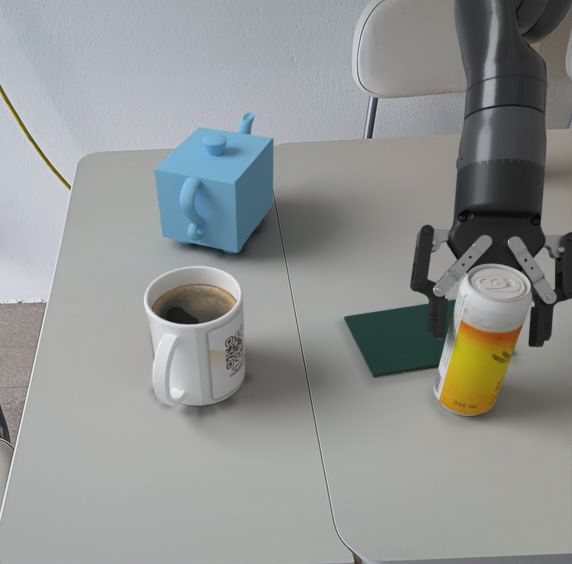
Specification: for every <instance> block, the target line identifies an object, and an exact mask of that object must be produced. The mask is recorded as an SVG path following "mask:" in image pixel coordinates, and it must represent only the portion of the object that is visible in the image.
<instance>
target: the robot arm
mask: <svg viewBox="0 0 572 564" xmlns="http://www.w3.org/2000/svg"><path fill="white" fill-rule="evenodd" d="M571 9H572V0H453V18H454V27H455V30H456V31H455V32H456V37H457V41H458V45H459V51H460V56H461V62H462V66H463V70H464V74H465V78H466V89H465V98H464V100H465V101H464V112H463V113H464V114H463V126H462V131H461V136H460V140H459V144H458V154H457V159H456V166H455V168H456V180H455V181H456V182H455V193H454V194H455V195H454V208H453V220H452V225H451V227H450V229H440V228H439V229H438V228H434V226H432V225H431V224H425V225H423V226H421V228H420V229H419V230H418V233H417V234H416V239H415V247H414V254H413V262H412V269H411V275H410V283H409V284H410V285H409V287H410V290H411V291H412V292H414V293H416V292H417V293H420V294H422V295H424V296H426V298H427V299H428V303H429V308H428V321H427V329H428V332H429V333H434V334H433V338H434V339H438V340H442V339H444V338H445V330H446V317H447V304H448V300H449V298H448V297H447V298H446V294H447V293H448V292H449V291H450V290H451V289H452V288H453V287H454V286H455V284H457V282H458V281H460V279H461V278H462V277H463V276H464V275H465V274H466V275H467V274H468V273H469V271H470V270H471V269H473V268H474V267H476V266H479V265H483V264H500V265H505V266H509V267H511V268H514V269H516V270H518V271H520V272H521V273H523V274H524V275H525V276H526V277H527V278H528V280H529V281H530V284H531V293H532V302H533V303H534V306H530V314H529V327H528V340H527V341H528V347H529V348H543V347H544V345H545V342H548V341H550V339H551V337H552V336H553V335H552V334H553V319H554V308H555V306H556V304H558V303H561V302H566V301H568V300H572V231H569V232H567V233H565V234H545V232H544V231H543V229H542V216H543V215H542V214H543V204H544V203H543V200H544V188H545V175H546V161H547V145H548V144H547V143H548V137H547V125H546V121H547V120H546V119H547V118H546V114H547V103H548V102H547V101H548V89H549V78H550V77H549V74H550V73H549V66H548V62H547V60H546V58H545V57H544V56H543V55H542V54H541V53H540V52H539V51H537V50H536V49H535V48H534V47H532V45H533V44H537V43H540V42H542V41H544V40H545V39H547V38H548V37H549V36H551V35H552V34H553V33H554V32H555V31H557V29H558V28H559V27H560V26H561V24H563V23H564V21H565V18H567V15H568V14H569V12H570V10H571ZM528 44H530V45H528ZM442 243H446V245H447V247H448V249H449V250H450V252H451V253H452V255H453V256H454V258H455V259H456V261H454V263H452V265H451V266H450V267H449V268H448V269H447V271H446V272H445V273H443V275H442V276H441V277H440V278H439V279H438V280H437V282H435V281H433V280H431V279H429V278H428V277H429V271H430V265H431V257H432V256H431V255H432V254H433V253H435V252H437V251H438V250H439V249H440V247H441V244H442ZM543 248H544V249H546V250H547V252H548V256H549V257H550V259H553V260H554V289H553V288H552V286H551V285H550V283H549V282H548V280H547V279H546V275H545V273H544V272H543V270H542V268H541V267H540V265H538V263H537V261H536V260H535V259H534V258H535V257H536V256H537V255H538V254H539V253H540V252H541V251H542V249H543Z"/></svg>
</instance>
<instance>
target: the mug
mask: <svg viewBox="0 0 572 564" xmlns="http://www.w3.org/2000/svg"><path fill="white" fill-rule="evenodd" d="M143 306H144V312H145V313H144V314H145V318H146V325H147V331H148V336H149V342H150V348H151V354H152V360H153V361H152V362H153V365H152V386H153V391H154V394H155V396H156V399H157V400H158V402H160V403H162V404H165V405H167V406H171V407H177V406H179V405H181V404H182V405H186V406H194V407H197V406H198V407H200V406H209V405H213V404H217V403H220V402H222V401H224V400H226V399H228V398H230V397H232V395H234V394H235V393H236V392H237V391H238V390H239V388H241V386H242V384H243V382H244V380H245V377H246V355H245V354H246V353H245V349H246V348H245V323H244V321H245V320H244V319H245V318H244V317H245V316H244V293H243V288H242V285H241V284H240V281H238V279H237V278H236V277H234V276H233V275H232V274H231V273H228V272H227V271H225V270H222V269H220V268H216V267H214V266H213V267H212V266H206V265H190V266H188V265H187V266H182V267H178V268H175V269H172V270H169V271H167V272H164V273H162V274H161V275H158V277H157V278H155V279H153V281H152V282H151V283H150V284H149V285H148V286H147V288H146V290H145V292H144V296H143Z"/></svg>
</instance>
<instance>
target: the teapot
mask: <svg viewBox="0 0 572 564" xmlns="http://www.w3.org/2000/svg"><path fill="white" fill-rule="evenodd" d="M255 117H256V113H255V112H253V111H250V112H247V113H245V114H244V115H243V116H242V118H241V119H240V122H239V126H238V128H237V131H236V132H235V131H229V130H222V129H214V128H208V127H201V126H199V127H197V128H196V129H195V130H194V131H193V132H192V133H191V134H190V135H188V136H187V137H186V138H185V139H184V140H183V141H182V142H181V143H180V144H179V145H177V147H176V148H175V149H174V150H172V152H170V153H169V154H168V155H167V156H166V157H165V158H164V159H163V160H162V161H161V162H160V163H159V164H158V165H157V166H156V167H155V168H154V169H153V170H154V178H155V187H156V194H157V202H158V210H159V219H160V225H161V233H162V237H163V238H168V239H171V240H172V239H173V240H176V241H179V242H180V243H181V244H184V245H189V244H196V245H200V246H205V247H209V248H212V249H213V248H214V249H218V250H222V251H223V252H224V253H227V254H237V253H239V252H241V251H242V250H243V247H244V244H245V243H246V242H247V240H248V239H249V238H250V236H251V235H252V233H254V231H255V230H256V228H258V227H259V226H260V225H261V221H262V220H263V219H264V217H265V216H266V215H267V213H268V212H269V210H270V209H271V208H272V206H273V205H274V144H275V143H274V142H275V141H274V140H275V139H274V138H273V137H269V136H261V135H255V134H252V128H253V123H254V120H255Z"/></svg>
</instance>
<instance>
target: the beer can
mask: <svg viewBox="0 0 572 564" xmlns="http://www.w3.org/2000/svg"><path fill="white" fill-rule="evenodd" d="M455 299H456V302H455V306H454V310H453V314H452V318H451V321H450V325H449V329H448V333H447V337H446V341H445V345H444V349H443V352H442V356H441V360H440V364H439V366H438V368H437V371H436V377H435V380H434V384H433V393H434V396H435V398H436V399H437V401H438V402H439V403H440V404H441V405H442V406H443V408H444V409H445V410H447V411H449V412H450V413H453V414H455V415H458V416H462V417H474V416H478V415H481V414H484V413H487V412H488V411H490V410H491V409H492V408H493V407H494V406H495V403H496V401H497V398H498V395H499V392H500V390H501V388H502V385H503V381H504V378H505V377H506V373H507V371H508V368H509V365H510V362H511V359H512V358H513V357H512V356H513V355H514V351H515V348H516V345H517V343H518V340H519V337H520V334H521V332H522V328H523V326H524V323H525V321H526V317H527V315H528V312H529V309H530V308H531V303H532V302H533V300H532V293H531V284H530V281H529V280H528V278H527V277H526V276H525V275H524V274H523V273H521V272H520V271H518V270H516V269H514V268H511V267H509V266H505V265H500V264H483V265H479V266H476V267H474V268H473V269H471V270H470V271H469V273H468V274H467V273H466V276H465V277H463V278H462V279H461V281H460V283H459V286H458V289H457V295H456V298H455Z"/></svg>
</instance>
